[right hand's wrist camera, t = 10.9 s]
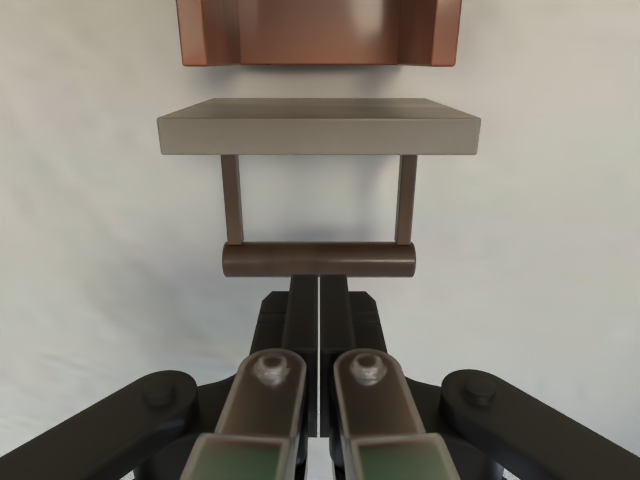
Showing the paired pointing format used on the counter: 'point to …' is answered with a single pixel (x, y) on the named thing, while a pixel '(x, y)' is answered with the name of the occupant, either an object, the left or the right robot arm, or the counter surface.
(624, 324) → the counter surface
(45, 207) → the counter surface
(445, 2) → the drawer
